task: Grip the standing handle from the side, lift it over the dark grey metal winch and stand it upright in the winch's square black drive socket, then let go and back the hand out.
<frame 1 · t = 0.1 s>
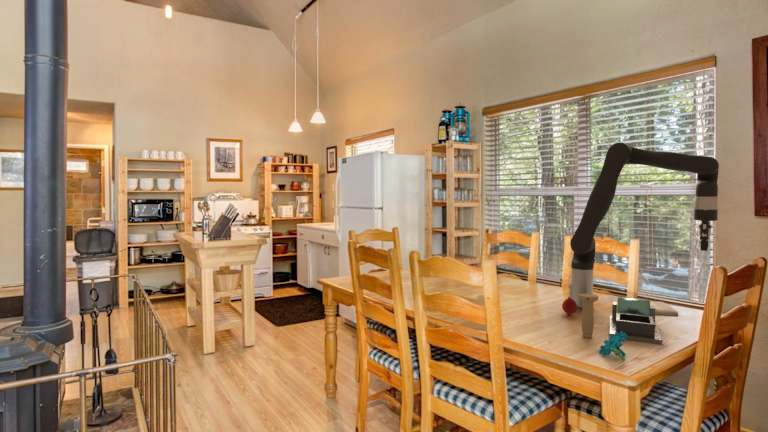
hand: (704, 249, 178), 29 cm above the table, tool pointing down, fingers open, 8 cm apart
teal lobed piece: (612, 356, 144), on the table
onion: (569, 315, 191), on the table
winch: (634, 334, 165), on the table
handle: (587, 337, 162), on the table
washcloth: (655, 311, 199), on the table
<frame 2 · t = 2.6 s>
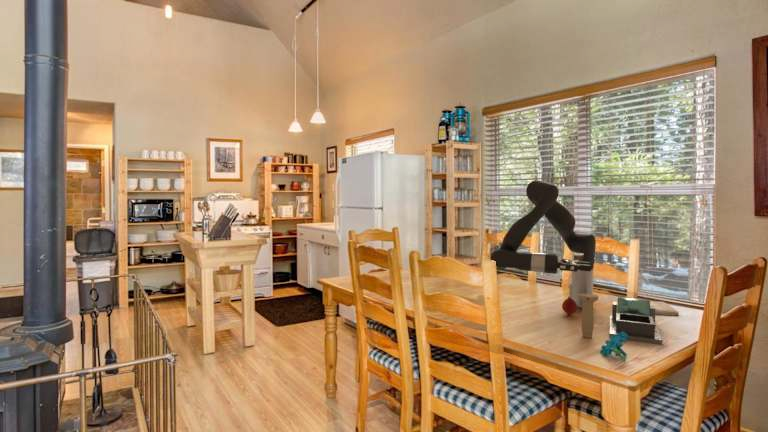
hand: (590, 266, 167), 24 cm above the table, tool horizontal, fingers open, 8 cm apart
nothing on the table moved.
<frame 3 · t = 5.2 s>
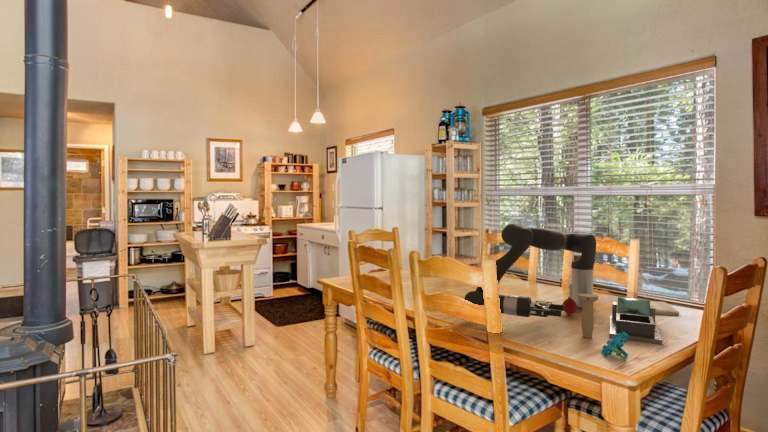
hand: (562, 310, 166), 8 cm above the table, tool horizontal, fingers open, 8 cm apart
nothing on the table moved.
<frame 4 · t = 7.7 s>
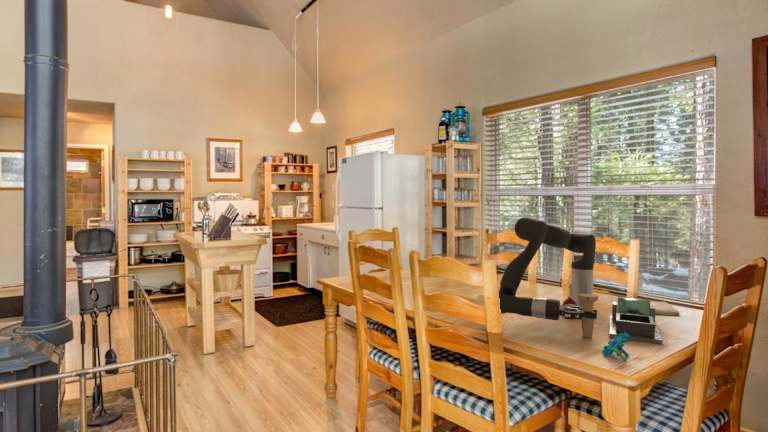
hand: (596, 314, 160), 9 cm above the table, tool horizontal, fingers closed on handle, 3 cm apart
handle: (587, 337, 162), on the table, touching gripper
everything else where it was.
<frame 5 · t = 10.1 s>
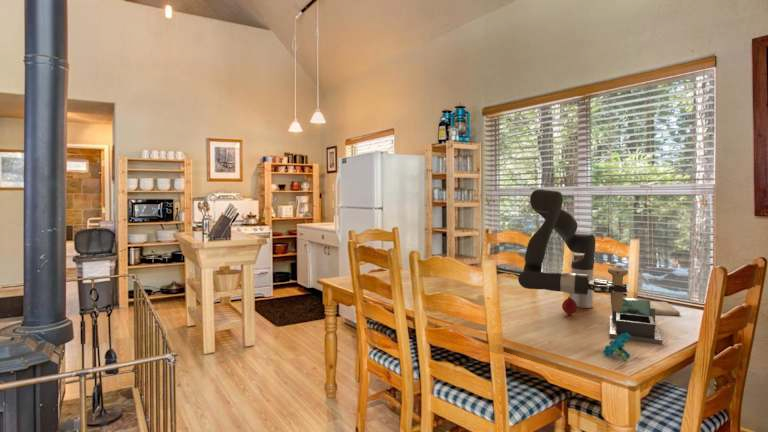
hand: (626, 288, 162), 17 cm above the table, tool horizontal, fingers closed on handle, 3 cm apart
handle: (616, 311, 164), point 9 cm above the table, touching gripper
when the fingers open (11 cm above the table, at t = 12.5 s): handle drops 1 cm, resting on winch.
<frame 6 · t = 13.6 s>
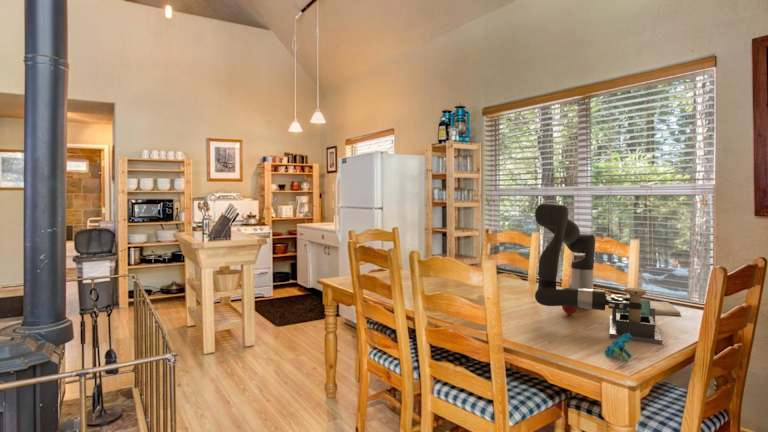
hand: (640, 303, 163), 11 cm above the table, tool horizontal, fingers open, 8 cm apart
handle: (633, 330, 165), point 1 cm above the table, touching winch
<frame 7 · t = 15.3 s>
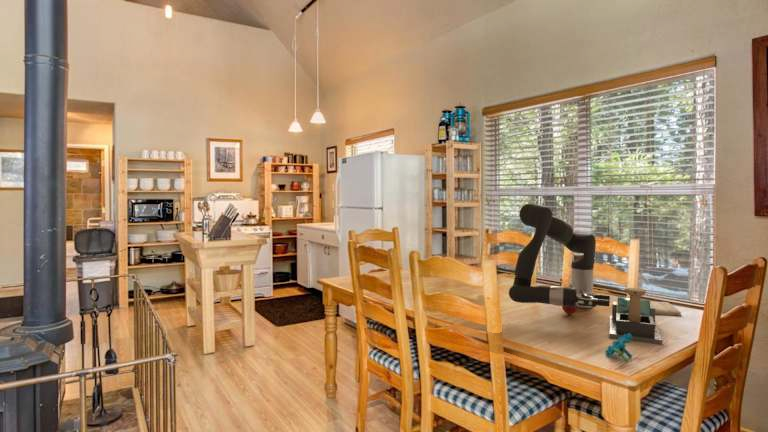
hand: (609, 300, 168), 12 cm above the table, tool horizontal, fingers open, 8 cm apart
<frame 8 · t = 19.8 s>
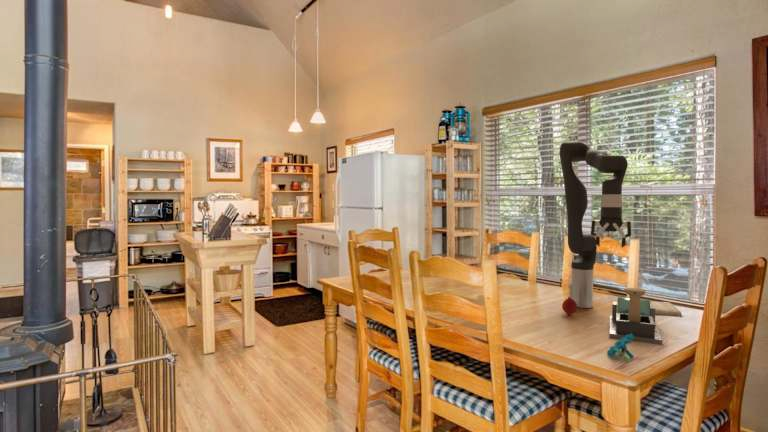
hand: (610, 246, 180), 30 cm above the table, tool pointing down, fingers open, 8 cm apart
at the end: handle 0.1 cm off-centre on the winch, point 1.3 cm above the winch's base; handle tilted 0°; the gripper is holding nothing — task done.
